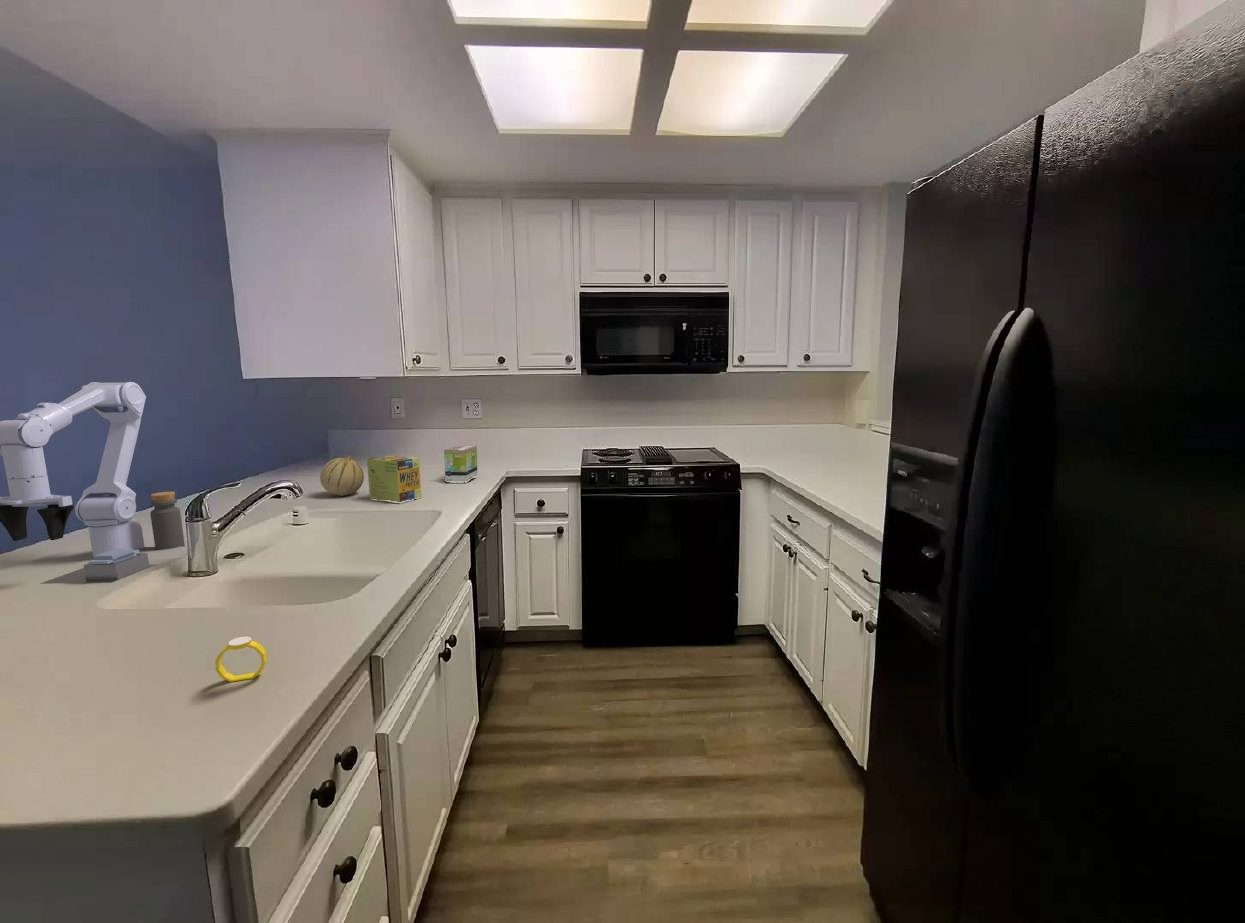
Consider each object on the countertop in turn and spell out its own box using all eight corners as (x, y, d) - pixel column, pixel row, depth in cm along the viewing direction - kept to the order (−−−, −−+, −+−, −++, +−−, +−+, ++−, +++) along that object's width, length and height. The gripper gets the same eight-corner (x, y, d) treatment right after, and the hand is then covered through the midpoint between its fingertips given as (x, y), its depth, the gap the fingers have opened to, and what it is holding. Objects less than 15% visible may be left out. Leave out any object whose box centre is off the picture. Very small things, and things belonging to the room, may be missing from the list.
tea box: (468, 483, 225) (466, 449, 223) (444, 483, 225) (442, 449, 223) (478, 477, 240) (476, 445, 238) (456, 477, 240) (454, 445, 238)
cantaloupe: (317, 495, 203) (313, 456, 201) (357, 489, 213) (354, 453, 211) (329, 501, 193) (325, 460, 191) (371, 495, 203) (368, 456, 201)
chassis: (91, 569, 123) (88, 551, 123) (156, 568, 124) (153, 550, 123) (40, 587, 112) (37, 568, 112) (112, 586, 113) (109, 567, 112)
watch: (269, 671, 80) (268, 634, 79) (263, 681, 77) (262, 642, 76) (221, 676, 78) (220, 638, 77) (214, 686, 75) (212, 647, 74)
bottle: (182, 544, 142) (174, 490, 140) (187, 549, 138) (180, 492, 136) (153, 550, 137) (145, 493, 135) (158, 554, 134) (150, 496, 131)
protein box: (400, 504, 188) (397, 461, 185) (369, 500, 194) (365, 458, 192) (422, 498, 197) (419, 457, 195) (392, 495, 204) (389, 455, 201)
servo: (125, 567, 122) (121, 546, 121) (142, 567, 122) (139, 546, 121) (91, 580, 114) (87, 557, 113) (110, 580, 114) (106, 557, 113)
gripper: (-31, 480, 107) (-19, 545, 109) (43, 479, 108) (54, 544, 110) (7, 474, 114) (18, 535, 116) (77, 473, 115) (87, 534, 117)
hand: (38, 539), depth 113 cm, fingers open, 7 cm apart
